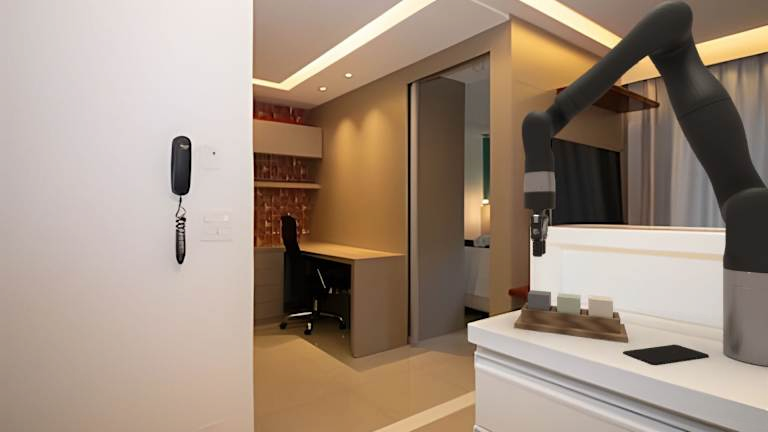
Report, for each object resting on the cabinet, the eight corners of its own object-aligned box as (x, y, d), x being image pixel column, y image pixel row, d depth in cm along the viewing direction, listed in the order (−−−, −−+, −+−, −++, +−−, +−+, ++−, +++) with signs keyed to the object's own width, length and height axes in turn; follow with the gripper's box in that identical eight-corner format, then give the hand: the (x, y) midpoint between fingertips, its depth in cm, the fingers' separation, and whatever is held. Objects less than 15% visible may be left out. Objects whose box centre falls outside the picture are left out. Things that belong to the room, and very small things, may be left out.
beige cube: (612, 317, 93) (612, 297, 93) (612, 322, 89) (612, 301, 89) (588, 314, 95) (588, 295, 95) (588, 319, 91) (588, 299, 91)
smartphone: (621, 351, 78) (675, 343, 82) (621, 355, 78) (675, 347, 82) (653, 363, 72) (710, 354, 76) (653, 367, 72) (711, 359, 76)
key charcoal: (551, 310, 100) (551, 291, 100) (549, 314, 95) (549, 295, 95) (530, 308, 102) (530, 290, 102) (527, 312, 98) (527, 293, 98)
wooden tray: (624, 328, 95) (624, 311, 95) (628, 343, 84) (628, 322, 84) (522, 316, 106) (522, 300, 106) (514, 327, 96) (514, 310, 96)
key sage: (580, 314, 96) (580, 295, 96) (579, 318, 92) (579, 298, 92) (558, 311, 99) (558, 293, 99) (557, 316, 94) (557, 296, 94)
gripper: (552, 188, 90) (552, 258, 90) (557, 192, 103) (557, 253, 103) (519, 189, 94) (519, 257, 94) (527, 192, 107) (527, 252, 107)
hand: (539, 255), depth 98 cm, fingers open, 7 cm apart
